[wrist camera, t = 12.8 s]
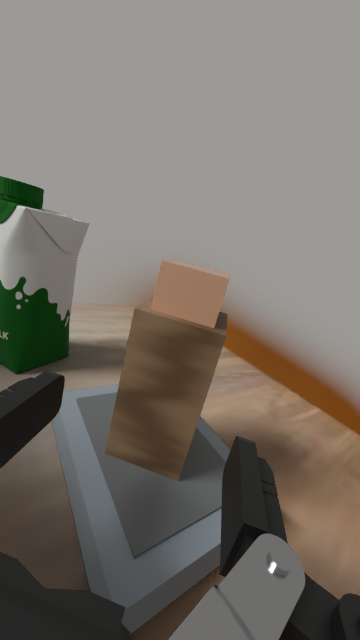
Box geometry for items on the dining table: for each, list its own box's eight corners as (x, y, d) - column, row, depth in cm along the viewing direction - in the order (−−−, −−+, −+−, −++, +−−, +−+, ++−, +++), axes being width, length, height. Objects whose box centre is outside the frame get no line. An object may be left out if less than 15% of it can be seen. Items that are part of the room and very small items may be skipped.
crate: (104, 453, 18) (134, 308, 15) (133, 408, 23) (159, 294, 20) (178, 481, 17) (226, 336, 14) (190, 428, 22) (227, 314, 19)
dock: (51, 419, 24) (54, 390, 23) (160, 399, 31) (166, 376, 30) (104, 654, 12) (116, 613, 11) (263, 531, 19) (278, 500, 18)
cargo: (150, 309, 15) (161, 260, 14) (166, 298, 19) (176, 259, 18) (214, 328, 15) (229, 279, 14) (217, 313, 19) (229, 274, 18)
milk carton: (-32, 350, 30) (-32, 168, 25) (38, 334, 38) (50, 194, 33) (13, 381, 27) (25, 181, 21) (79, 357, 35) (101, 206, 29)
